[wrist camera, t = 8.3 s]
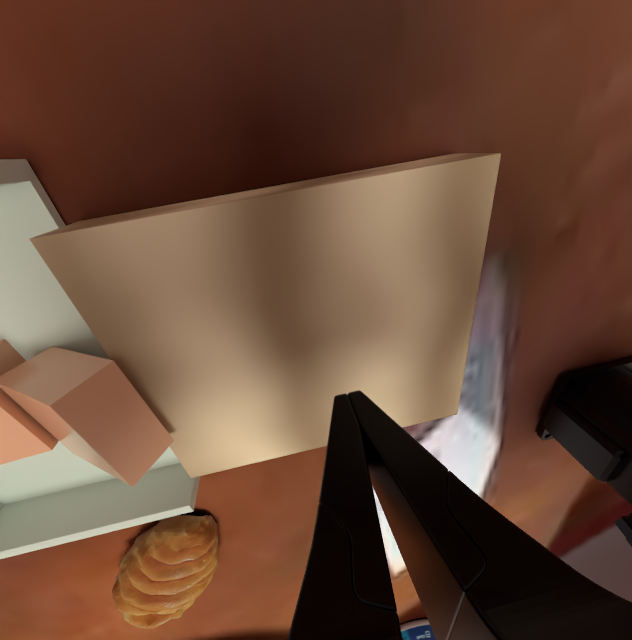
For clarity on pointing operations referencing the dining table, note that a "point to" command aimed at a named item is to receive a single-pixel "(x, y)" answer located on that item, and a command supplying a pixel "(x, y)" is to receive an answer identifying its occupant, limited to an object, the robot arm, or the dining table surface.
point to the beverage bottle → (417, 630)
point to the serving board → (287, 302)
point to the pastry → (166, 570)
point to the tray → (60, 463)
